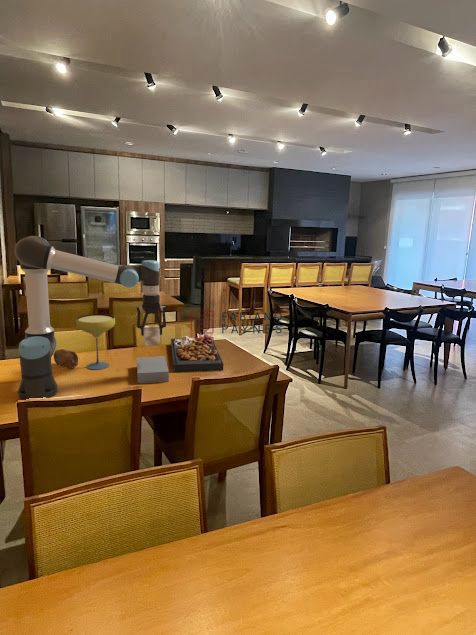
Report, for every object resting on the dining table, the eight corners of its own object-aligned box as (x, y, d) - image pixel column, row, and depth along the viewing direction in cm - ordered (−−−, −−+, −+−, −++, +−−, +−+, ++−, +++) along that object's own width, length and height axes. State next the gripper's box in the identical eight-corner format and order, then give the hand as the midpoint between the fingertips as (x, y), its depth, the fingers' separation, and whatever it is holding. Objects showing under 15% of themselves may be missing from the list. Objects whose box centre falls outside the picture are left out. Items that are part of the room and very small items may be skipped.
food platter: (170, 345, 249) (170, 329, 247) (211, 344, 254) (212, 328, 252) (174, 373, 206) (174, 353, 204) (223, 371, 211) (223, 352, 209)
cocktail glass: (123, 363, 216) (122, 316, 210) (102, 374, 199) (100, 324, 194) (93, 358, 221) (91, 312, 216) (70, 369, 205) (67, 320, 199)
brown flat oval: (53, 364, 211) (52, 348, 209) (58, 362, 213) (57, 347, 211) (74, 370, 204) (73, 354, 202) (79, 368, 207) (79, 352, 205)
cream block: (145, 345, 196) (145, 329, 194) (145, 341, 201) (144, 325, 199) (158, 345, 197) (158, 328, 195) (157, 341, 203) (157, 325, 201)
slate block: (137, 383, 191) (137, 373, 189) (136, 366, 211) (136, 357, 210) (168, 381, 194) (168, 371, 193) (164, 365, 215) (164, 356, 214)
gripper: (129, 295, 188) (131, 344, 193) (172, 295, 192) (172, 343, 198) (129, 292, 195) (131, 340, 200) (170, 292, 199) (171, 338, 205)
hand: (151, 341), depth 199 cm, fingers closed on cream block, 6 cm apart
